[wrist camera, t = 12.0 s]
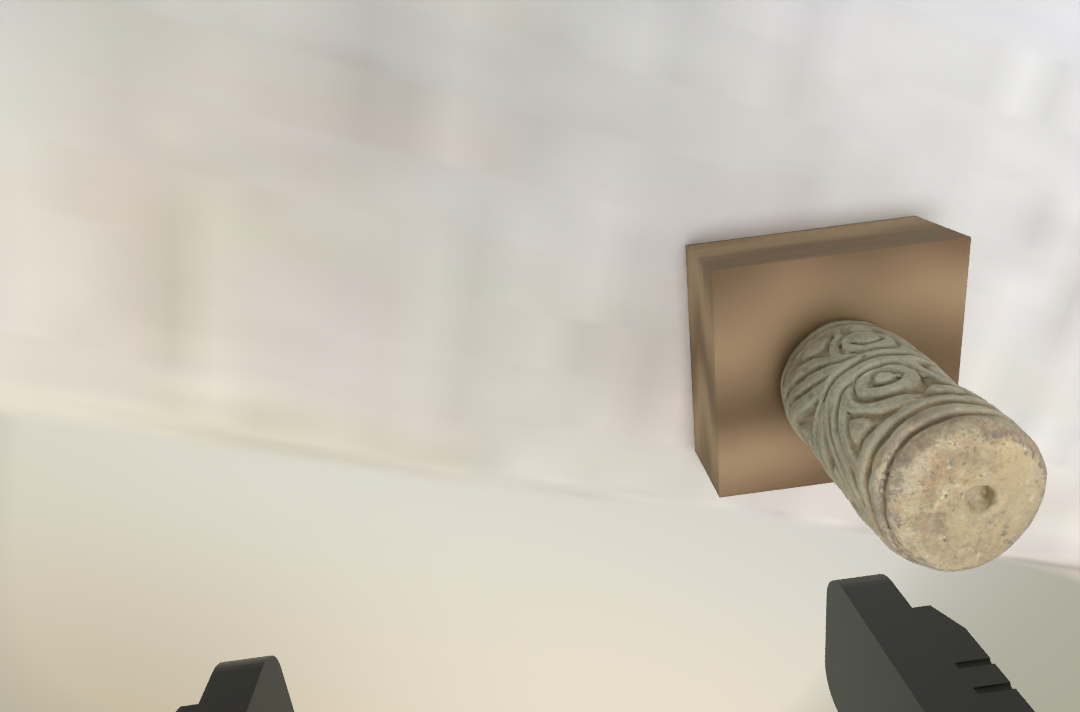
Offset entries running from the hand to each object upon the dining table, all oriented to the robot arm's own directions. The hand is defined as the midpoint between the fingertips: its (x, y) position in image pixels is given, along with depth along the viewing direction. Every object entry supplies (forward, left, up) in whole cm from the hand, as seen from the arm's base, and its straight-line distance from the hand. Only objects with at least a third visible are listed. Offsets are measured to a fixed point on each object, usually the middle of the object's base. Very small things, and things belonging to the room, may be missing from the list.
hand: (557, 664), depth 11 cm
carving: (+8, +15, -25) cm, 30 cm away
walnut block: (+8, +15, -30) cm, 35 cm away
